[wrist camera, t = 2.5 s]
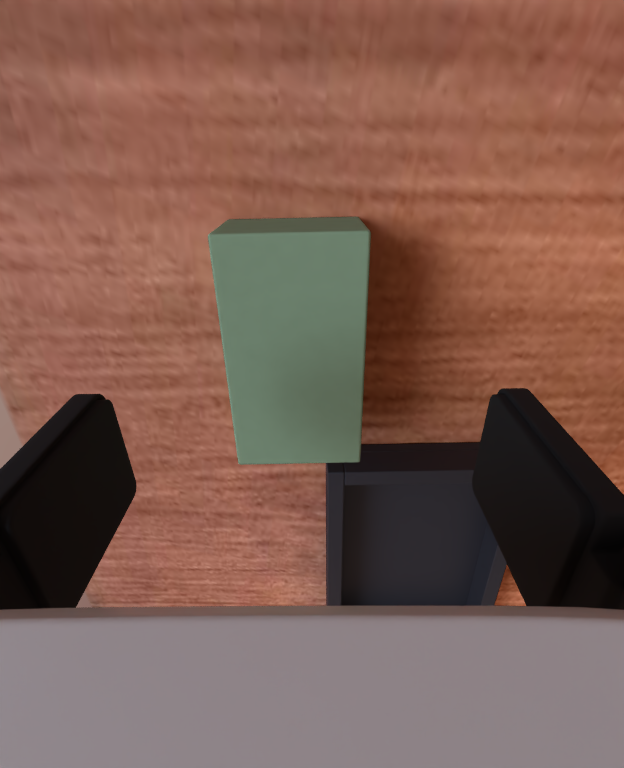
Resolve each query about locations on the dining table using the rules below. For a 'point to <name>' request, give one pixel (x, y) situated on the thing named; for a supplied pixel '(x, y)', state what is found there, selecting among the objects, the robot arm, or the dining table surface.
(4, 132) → the dining table surface
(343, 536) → the black tray
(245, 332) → the green rectangular block
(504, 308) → the dining table surface
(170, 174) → the dining table surface
